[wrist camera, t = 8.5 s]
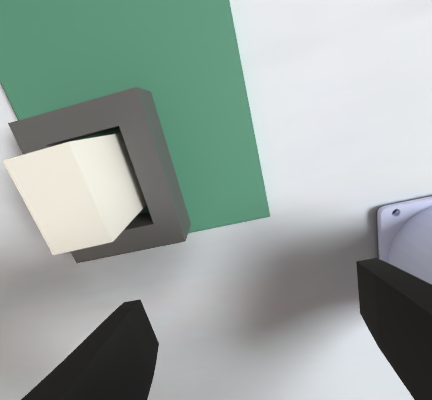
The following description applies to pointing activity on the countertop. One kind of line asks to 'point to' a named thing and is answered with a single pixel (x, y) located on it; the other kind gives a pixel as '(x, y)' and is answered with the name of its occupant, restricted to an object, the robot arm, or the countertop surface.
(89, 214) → the plug
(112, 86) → the board
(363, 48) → the countertop surface
